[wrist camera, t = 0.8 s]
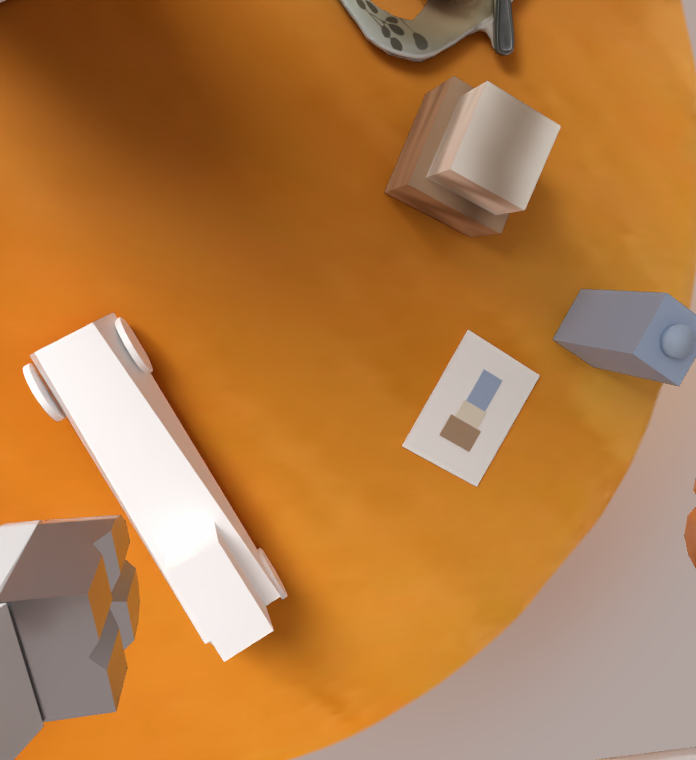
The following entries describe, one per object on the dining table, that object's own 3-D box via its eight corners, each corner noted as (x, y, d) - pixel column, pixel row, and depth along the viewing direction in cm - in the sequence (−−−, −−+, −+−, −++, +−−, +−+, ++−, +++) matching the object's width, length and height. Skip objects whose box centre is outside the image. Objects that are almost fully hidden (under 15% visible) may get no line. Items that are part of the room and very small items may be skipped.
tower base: (384, 192, 50) (430, 176, 41) (425, 94, 49) (480, 57, 41) (470, 237, 52) (530, 230, 44) (509, 143, 52) (578, 119, 43)
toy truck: (283, 579, 53) (307, 640, 44) (205, 628, 52) (214, 700, 43) (118, 306, 46) (109, 315, 37) (25, 354, 45) (-7, 375, 36)
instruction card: (401, 445, 54) (403, 446, 53) (467, 329, 54) (469, 329, 53) (475, 486, 56) (477, 487, 56) (538, 375, 56) (541, 375, 56)
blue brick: (552, 339, 56) (640, 355, 46) (581, 288, 56) (675, 293, 46) (593, 367, 58) (687, 388, 47) (621, 317, 58) (721, 328, 47)
